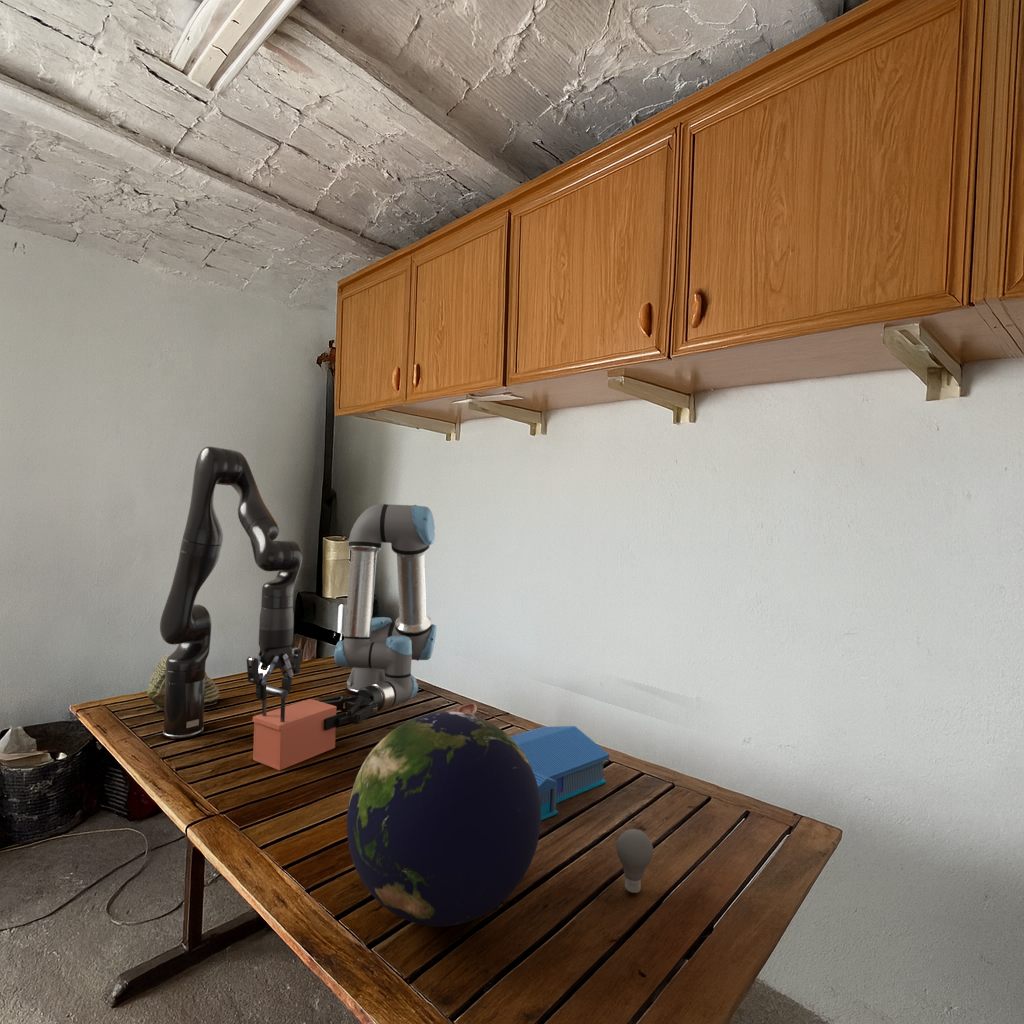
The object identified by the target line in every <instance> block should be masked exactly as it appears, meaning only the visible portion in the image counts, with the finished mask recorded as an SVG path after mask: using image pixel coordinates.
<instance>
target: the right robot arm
mask: <svg viewBox="0 0 1024 1024" xmlns="http://www.w3.org/2000/svg"><path fill="white" fill-rule="evenodd" d="M435 531H436V527H435V519H434V514H433V512H432V510H431V509H430V508H429V507H428V506H423V505H417V504H413V505H409V504H386V503H378V504H374V505H371V506H370V507H368V508H366V509H365V510H364V511H363V512H362V513H361V514H360V515H359V516H358V517H357V519H356V520H355V522H354V524H353V526H352V528H351V531H350V533H349V537H348V546H347V547H348V549H349V551H350V565H349V574H348V575H349V576H348V587H347V588H348V589H347V599H346V600H347V602H346V613H345V624H344V636H343V637H344V638H343V640H338V641H337V643H336V645H335V647H334V648H335V649H334V653H333V655H334V656H333V657H334V659H333V660H334V663H335V664H336V665H337V666H338V667H340V668H341V667H343V668H350V669H351V672H350V674H349V677H348V680H346V691H347V693H350V694H352V695H349V696H346V697H345V694H344V693H341V694H338V695H335V696H329V697H324V698H320V699H319V698H318V699H315V700H316V701H320V702H323V703H326V704H330V705H333V706H337V708H336V711H340V712H341V713H338V714H337V713H336V715H334V716H331V717H329V718H326V719H324V730H329V729H331V728H334V727H340V726H342V725H345V724H346V723H347V724H351V723H353V725H358V724H360V723H362V722H363V721H365V720H367V719H368V718H370V717H371V716H374V715H377V714H378V713H379V712H383V710H385V709H389V708H391V707H394V706H397V705H401V704H405V703H406V702H408V701H410V700H411V699H413V698H415V697H416V696H417V694H418V691H419V683H418V682H417V678H416V677H415V676H414V675H412V661H417V662H419V661H428V660H430V659H431V658H432V655H433V651H434V648H435V642H436V641H435V640H436V635H437V625H436V624H433V623H432V619H431V617H430V616H429V615H427V589H426V588H427V587H426V586H427V585H426V553H427V552H428V551H429V550H430V546H431V545H433V544H434V542H435V539H436V538H435V537H436V533H435ZM382 543H385V544H387V543H388V544H391V545H390V546H391V547H390V548H391V551H392V552H393V553H394V554H396V565H397V566H396V567H397V590H398V611H399V612H398V613H399V617H397V618H396V620H395V622H392V618H391V617H386V616H380V617H373V611H374V610H373V609H374V595H375V585H376V574H377V573H376V572H377V571H376V570H377V562H378V561H377V560H378V559H377V558H378V553H379V552H380V551H381V550H382Z"/></svg>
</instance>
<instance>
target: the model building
mask: <svg viewBox="0 0 1024 1024" xmlns="http://www.w3.org/2000/svg"><path fill="white" fill-rule="evenodd" d="M509 737H511V739H512V740H513V741H514V742H515V743H516V744H517V745H518V746H519V748H520V749H521V750H522V751H523V753H524V755H525V756H526V758H527V760H528V761H529V763H530V765H531V767H532V770H533V773H534V775H535V778H536V782H537V785H538V789H539V794H540V801H541V822H542V821H543V820H546V819H549V818H551V817H553V816H555V815H558V814H559V810H557V804H559V803H561V802H563V801H566V800H568V799H570V798H573V797H575V796H577V795H580V794H583V793H585V792H587V791H590V790H591V789H594V788H597V787H599V786H601V785H604V784H606V783H607V780H606V779H604V761H607V760H609V759H610V754H609V753H608V752H607V751H606V750H605V749H603V747H601V746H600V745H598V744H597V743H596V742H595V741H594V740H592V738H590V736H588V735H587V734H586V733H584V732H583V731H582V730H581V729H580V728H578V727H577V726H576V725H559V726H558V725H557V726H541V727H538V728H533V729H530V730H526V731H524V732H520V733H517V734H514V735H509Z"/></svg>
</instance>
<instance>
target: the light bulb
mask: <svg viewBox="0 0 1024 1024" xmlns="http://www.w3.org/2000/svg"><path fill="white" fill-rule="evenodd" d="M615 849H616V854H617V857H618V859H619V861H620V863H621V865H622V867H623V873H624V874H623V875H624V876H625V878H624V888H625V890H627V891H628V892H630V893H634V894H635V893H639V892H640V891H641V889H642V887H641V886H642V879H643V877H644V875H645V871H646V868H647V867H648V866H649V864H650V863H651V861H652V859H653V855H654V847H653V843H652V841H651V838H649V836H648V835H647V834H646V833H645V832H643V831H642V830H641V829H636V828H629V829H627V830H625V831H623V832H622V833H621V834H620V835H619V837H618V839H617V841H616V847H615Z"/></svg>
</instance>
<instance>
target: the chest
mask: <svg viewBox="0 0 1024 1024" xmlns="http://www.w3.org/2000/svg"><path fill="white" fill-rule="evenodd" d="M334 715H337V710H336V711H334V712H332V713H329V714H326V715H323V716H320V717H317V718H314V719H311V720H308V721H306V722H303V723H300V724H297V725H294V726H291V727H288V728H285V729H282V730H276V729H273V728H270V727H268V726H265V725H262V724H259V723H256V722H253V748H252V749H253V751H252V760H253V761H255V762H257V763H260V764H262V765H264V766H267V767H270V768H271V769H273V770H277V771H282V770H284V769H287V768H289V767H291V766H294V765H297V764H300V763H301V762H304V761H306V760H309V759H311V758H313V757H316V756H318V755H321V754H325V752H329V751H331V750H333V749H335V748H336V735H337V734H336V732H337V729H336V727H334V728H331V729H329V730H324V719H326V718H329V717H331V716H334Z"/></svg>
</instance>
